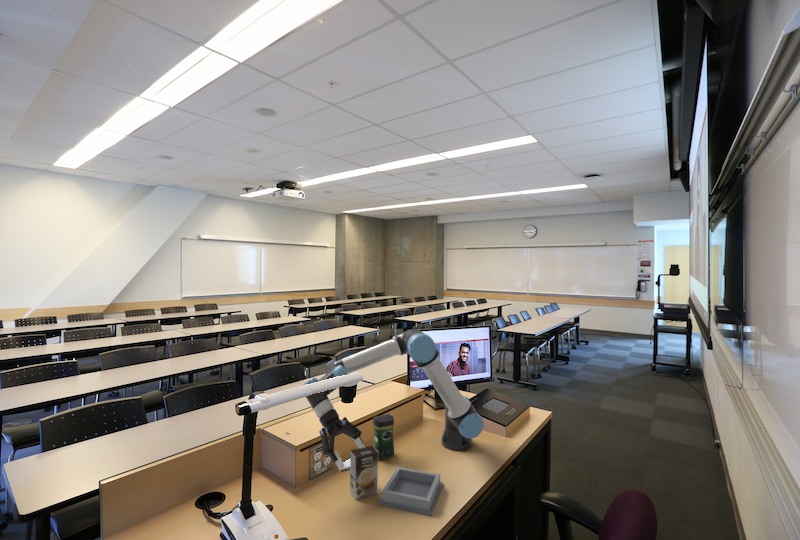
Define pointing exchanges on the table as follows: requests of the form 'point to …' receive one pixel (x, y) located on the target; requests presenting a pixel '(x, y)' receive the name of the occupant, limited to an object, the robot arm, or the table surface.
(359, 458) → the coffee box
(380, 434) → the coffee jar
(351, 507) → the table surface
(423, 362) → the robot arm
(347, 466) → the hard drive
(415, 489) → the dock tray
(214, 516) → the table surface
